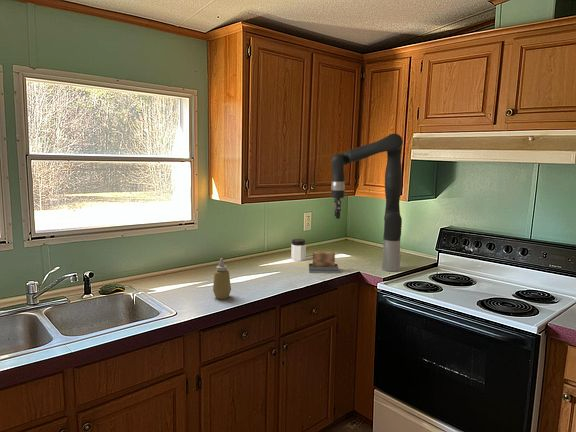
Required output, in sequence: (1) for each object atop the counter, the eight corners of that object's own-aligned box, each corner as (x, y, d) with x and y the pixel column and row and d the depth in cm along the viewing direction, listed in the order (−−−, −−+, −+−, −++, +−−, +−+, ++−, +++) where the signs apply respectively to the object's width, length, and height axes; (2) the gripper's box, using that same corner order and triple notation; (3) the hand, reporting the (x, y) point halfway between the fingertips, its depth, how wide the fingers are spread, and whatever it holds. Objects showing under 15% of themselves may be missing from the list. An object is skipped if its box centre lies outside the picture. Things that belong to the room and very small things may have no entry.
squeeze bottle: (232, 294, 196) (231, 256, 194) (230, 300, 188) (229, 260, 186) (214, 294, 196) (213, 256, 193) (211, 300, 188) (210, 260, 185)
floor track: (337, 268, 240) (337, 263, 240) (338, 273, 231) (338, 267, 231) (308, 268, 241) (308, 262, 240) (309, 272, 232) (309, 267, 231)
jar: (289, 257, 264) (290, 238, 262) (302, 257, 267) (302, 238, 265) (294, 261, 256) (294, 241, 254) (307, 260, 258) (307, 241, 256)
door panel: (334, 268, 237) (334, 252, 236) (334, 269, 234) (334, 253, 233) (312, 267, 238) (312, 252, 236) (312, 269, 235) (312, 253, 233)
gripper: (345, 190, 235) (345, 219, 237) (343, 188, 249) (342, 215, 251) (332, 190, 235) (331, 219, 238) (330, 188, 249) (329, 215, 252)
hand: (337, 217), depth 245 cm, fingers open, 8 cm apart
